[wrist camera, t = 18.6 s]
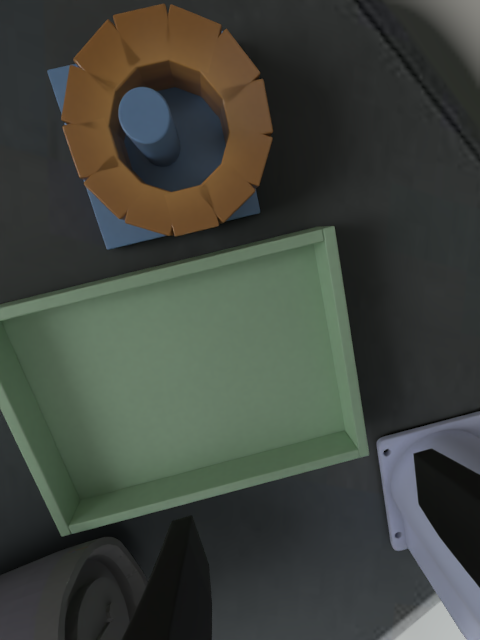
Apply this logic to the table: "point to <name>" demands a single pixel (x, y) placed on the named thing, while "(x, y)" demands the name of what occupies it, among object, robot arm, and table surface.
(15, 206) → the table surface
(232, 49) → the ring
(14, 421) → the tray
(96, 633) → the bluetooth speaker
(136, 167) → the post
